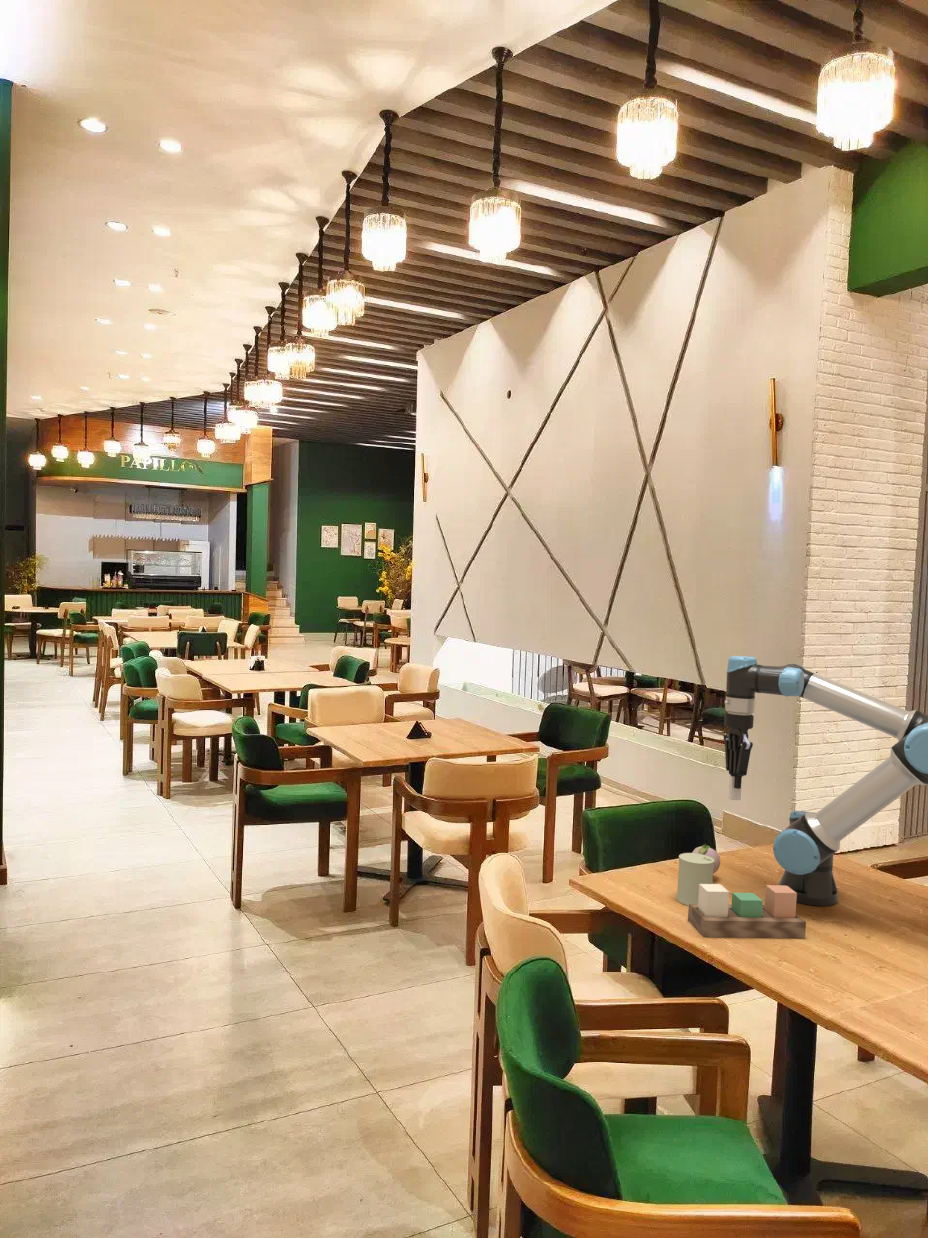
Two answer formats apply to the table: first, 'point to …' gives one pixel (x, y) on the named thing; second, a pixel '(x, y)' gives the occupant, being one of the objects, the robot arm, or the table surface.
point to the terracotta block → (780, 901)
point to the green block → (746, 905)
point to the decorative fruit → (711, 853)
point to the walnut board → (746, 925)
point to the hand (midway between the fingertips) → (734, 799)
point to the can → (693, 876)
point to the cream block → (713, 900)
